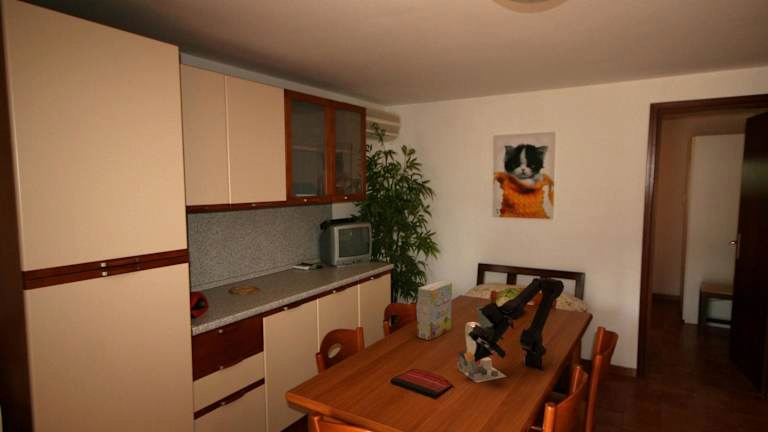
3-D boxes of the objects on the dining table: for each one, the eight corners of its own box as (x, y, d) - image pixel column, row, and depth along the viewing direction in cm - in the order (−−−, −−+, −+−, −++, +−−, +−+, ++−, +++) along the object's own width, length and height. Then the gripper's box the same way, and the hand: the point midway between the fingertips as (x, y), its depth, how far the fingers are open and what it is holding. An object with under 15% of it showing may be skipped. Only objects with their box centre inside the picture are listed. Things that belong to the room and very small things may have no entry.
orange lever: (475, 372, 174) (468, 351, 172) (479, 376, 171) (473, 354, 169) (470, 375, 173) (463, 354, 172) (474, 378, 170) (468, 357, 168)
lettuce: (488, 319, 250) (488, 292, 248) (505, 308, 271) (505, 283, 270) (514, 323, 241) (514, 296, 240) (529, 312, 262) (530, 286, 261)
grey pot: (495, 328, 233) (495, 306, 232) (498, 335, 223) (498, 312, 222) (476, 328, 234) (476, 306, 233) (478, 334, 224) (478, 311, 223)
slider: (488, 366, 182) (488, 357, 182) (491, 369, 180) (491, 359, 180) (480, 368, 181) (480, 358, 181) (483, 370, 179) (483, 361, 178)
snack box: (431, 341, 215) (431, 290, 213) (416, 338, 220) (416, 287, 218) (452, 329, 232) (452, 282, 230) (438, 326, 237) (438, 280, 235)
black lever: (464, 366, 181) (464, 350, 181) (468, 369, 178) (468, 353, 178) (459, 366, 181) (459, 351, 180) (463, 370, 177) (463, 354, 177)
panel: (486, 365, 186) (486, 357, 186) (506, 378, 173) (506, 370, 173) (457, 370, 181) (457, 362, 181) (476, 385, 168) (476, 375, 168)
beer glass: (469, 360, 191) (469, 327, 190) (462, 354, 198) (462, 322, 197) (483, 359, 193) (483, 325, 192) (476, 353, 200) (476, 321, 199)
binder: (436, 394, 157) (390, 378, 170) (435, 400, 157) (389, 384, 170) (457, 380, 170) (413, 366, 183) (457, 386, 170) (413, 372, 183)
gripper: (472, 311, 181) (448, 341, 178) (499, 324, 163) (474, 358, 160) (488, 327, 184) (465, 357, 181) (516, 342, 167) (492, 375, 164)
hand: (473, 361), depth 171 cm, fingers closed, pressing on orange lever
